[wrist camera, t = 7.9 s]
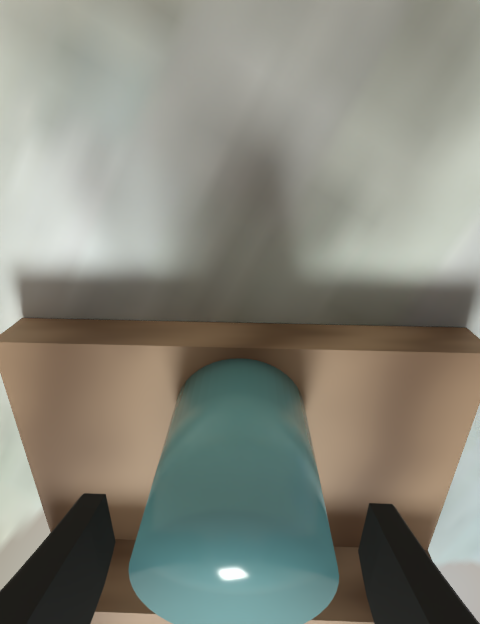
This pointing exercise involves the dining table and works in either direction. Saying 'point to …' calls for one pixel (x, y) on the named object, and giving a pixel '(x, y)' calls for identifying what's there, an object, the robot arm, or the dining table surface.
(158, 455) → the walnut shelf
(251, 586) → the teal round canister
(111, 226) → the dining table surface
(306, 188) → the dining table surface
